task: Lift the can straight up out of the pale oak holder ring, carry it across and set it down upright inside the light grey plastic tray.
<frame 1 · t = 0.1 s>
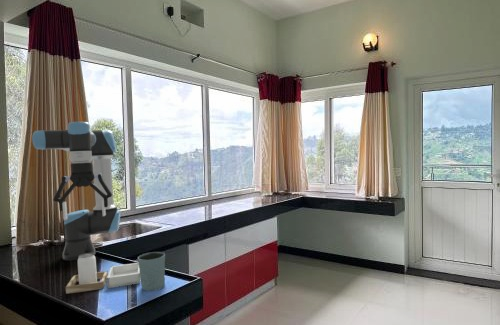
hand: (85, 217, 129), 28 cm above the worktop, tool pointing down, fingers open, 13 cm apart
tray: (125, 279, 137), on the worktop
grey-green cup: (153, 286, 128), on the worktop
holder ring: (88, 284, 133), on the worktop
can: (88, 285, 133), resting in holder ring
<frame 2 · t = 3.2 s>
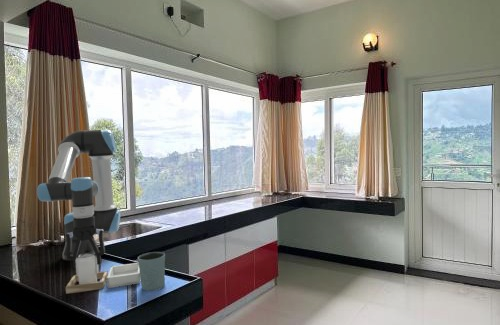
hand: (87, 273, 133), 4 cm above the worktop, tool pointing down, fingers closed on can, 6 cm apart
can: (88, 285, 133), resting in holder ring, touching gripper
everything else where it was.
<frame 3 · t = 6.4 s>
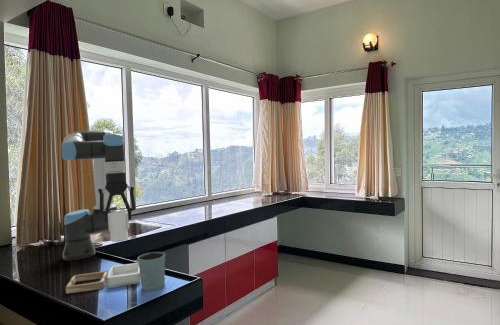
hand: (119, 228, 136), 21 cm above the worktop, tool pointing down, fingers closed on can, 6 cm apart
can: (119, 240, 136), point 16 cm above the worktop, touching gripper
everything else where it was.
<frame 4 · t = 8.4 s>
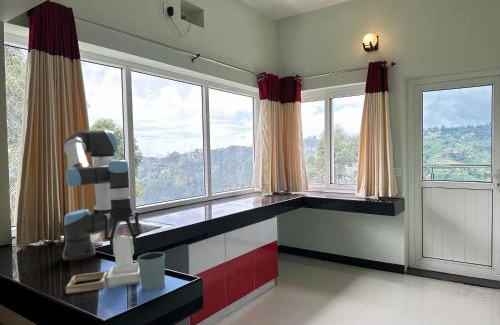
hand: (124, 254, 136), 10 cm above the worktop, tool pointing down, fingers closed on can, 6 cm apart
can: (124, 265, 137), point 6 cm above the worktop, touching gripper
everything else where it was.
when the fingers open (7 cm above the worktop, at t = 9.9 s): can drops 1 cm, resting on tray.
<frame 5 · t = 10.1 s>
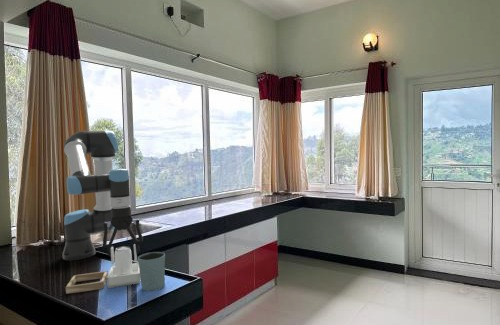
hand: (124, 261, 137), 7 cm above the worktop, tool pointing down, fingers open, 8 cm apart
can: (124, 277, 137), point 1 cm above the worktop, touching tray
everything else where it was.
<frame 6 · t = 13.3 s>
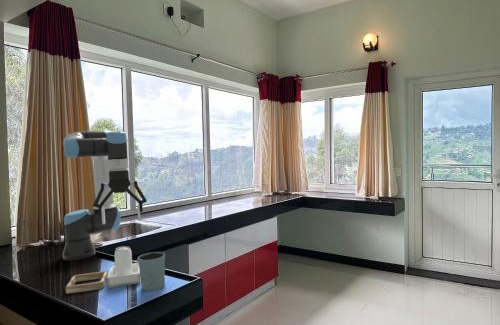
hand: (121, 221, 136), 24 cm above the worktop, tool pointing down, fingers open, 13 cm apart
nothing on the worktop moved.
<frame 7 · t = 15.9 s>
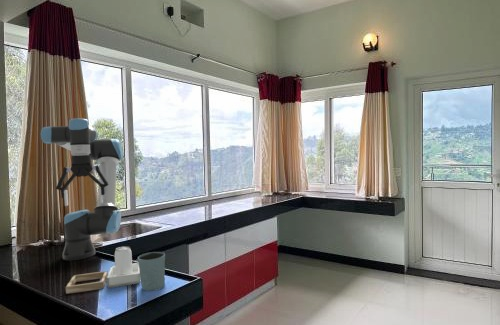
hand: (84, 204, 144), 31 cm above the worktop, tool pointing down, fingers open, 13 cm apart
nothing on the worktop moved.
at the end: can inside the target area on the tray (0.3 cm from its centre), point 0.8 cm above the tray's base; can tilted 0°; the gripper is holding nothing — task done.
